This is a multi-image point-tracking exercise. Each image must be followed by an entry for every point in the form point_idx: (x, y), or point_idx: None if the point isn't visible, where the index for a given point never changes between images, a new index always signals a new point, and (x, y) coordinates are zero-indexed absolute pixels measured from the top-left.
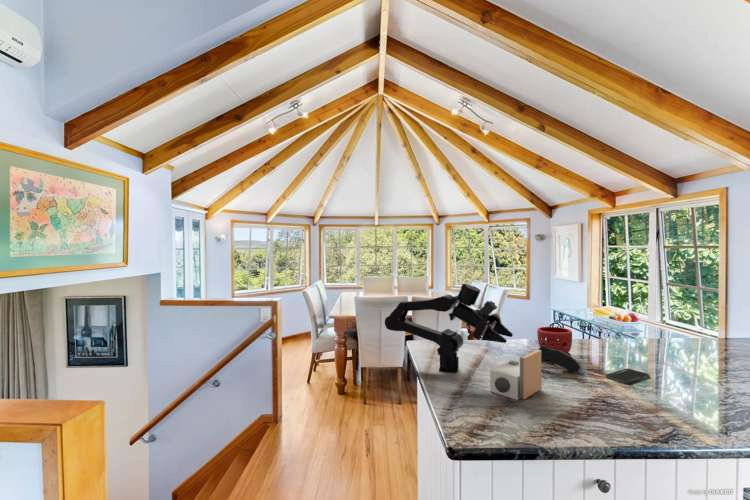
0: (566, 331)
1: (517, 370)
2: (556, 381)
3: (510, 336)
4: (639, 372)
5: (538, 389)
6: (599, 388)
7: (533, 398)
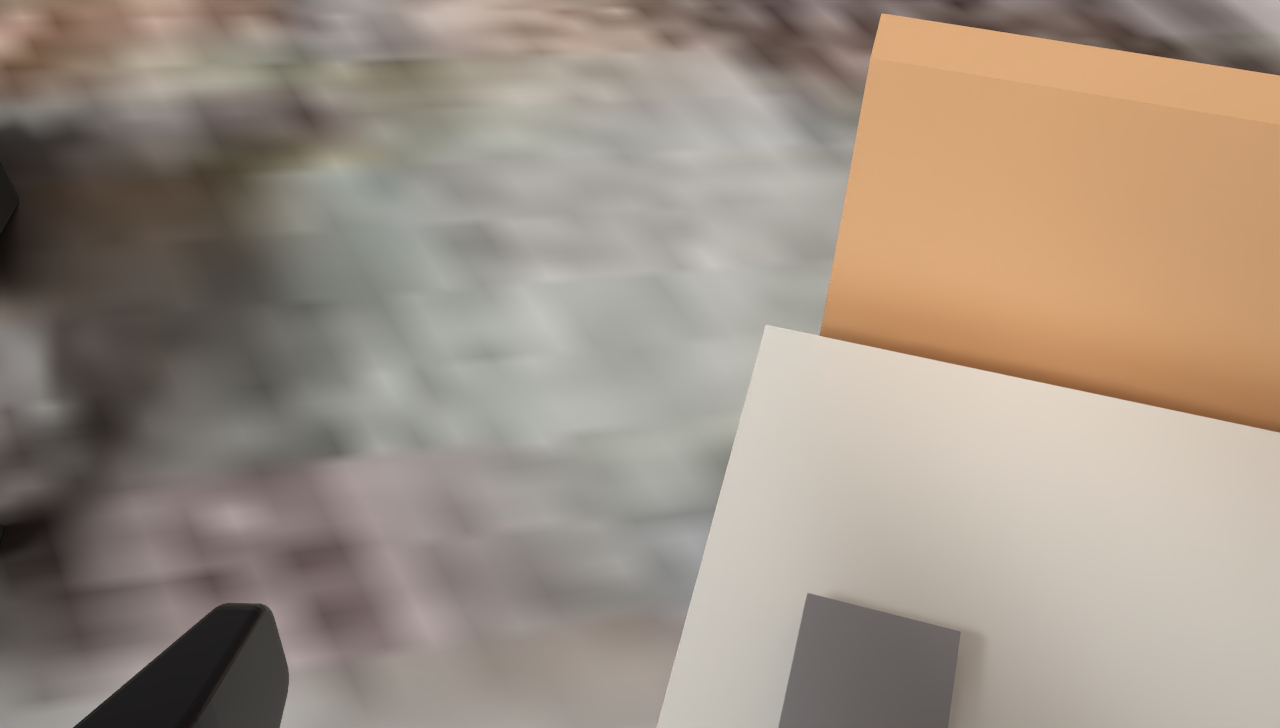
0: None
1: (1224, 554)
2: (402, 323)
3: (276, 715)
4: None
5: None
6: (432, 13)
7: None
